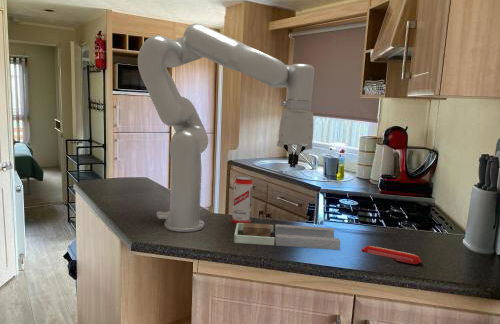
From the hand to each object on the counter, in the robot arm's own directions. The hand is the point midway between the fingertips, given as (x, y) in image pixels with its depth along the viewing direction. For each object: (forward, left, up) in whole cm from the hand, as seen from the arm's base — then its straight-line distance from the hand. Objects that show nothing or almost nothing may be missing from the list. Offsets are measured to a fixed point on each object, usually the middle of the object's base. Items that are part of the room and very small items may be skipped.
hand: (292, 166), depth 121 cm
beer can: (-15, +8, -22) cm, 28 cm away
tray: (-10, -6, -22) cm, 25 cm away
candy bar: (+28, -14, -23) cm, 38 cm away
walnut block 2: (-8, -6, -21) cm, 24 cm away
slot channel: (+5, -6, -22) cm, 23 cm away
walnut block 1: (-12, -7, -21) cm, 25 cm away
